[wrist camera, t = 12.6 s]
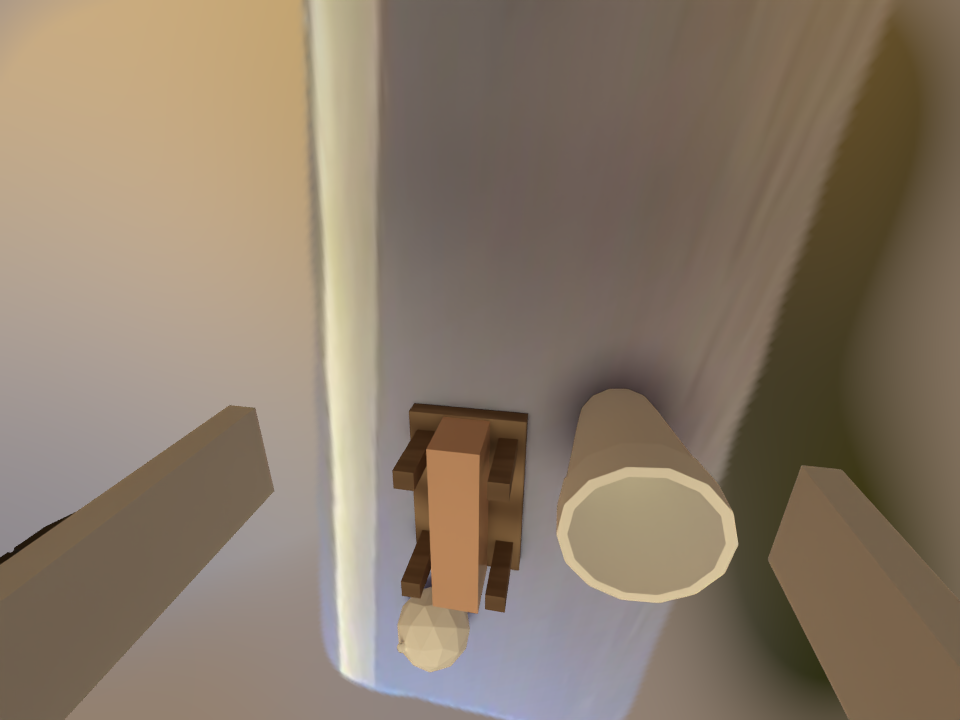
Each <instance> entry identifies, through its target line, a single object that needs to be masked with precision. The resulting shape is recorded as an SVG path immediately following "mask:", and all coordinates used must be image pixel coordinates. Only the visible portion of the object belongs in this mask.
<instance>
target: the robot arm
mask: <svg viewBox="0 0 960 720" xmlns="http://www.w3.org/2000/svg"><path fill="white" fill-rule="evenodd" d="M273 492H274V488H273V483H272V479H271V475H270V470H269V466H268V462H267V457H266V453H265V449H264V444H263V440H262V435H261V431H260V427H259V422H258V418H257V414H256V409H255V408H250V407H241V406H231V405H230V406H228V407H226V408H225V409H223V410H222V411H221V412H219V413H218V414H216V415H215V416H214V417H212V418H211V419H209V420H208V421H206V422H205V423H203V424H202V425H200V426H199V427H198V428H196V429H195V430H193V431H192V432H190V433H189V434H188V435H186V436H185V437H183V438H182V439H181V440H179V441H177V442H176V443H175V444H173V445H172V446H170V447H169V448H167V449H166V450H165V451H163V452H162V453H160V454H159V455H157V456H156V457H155V458H153V459H152V460H150V461H149V462H147V463H146V464H144V465H143V466H142V467H140V468H139V469H137V470H136V471H134V472H133V473H132V474H130V475H129V476H127V477H126V478H124V479H123V480H121V481H120V482H119V483H117V484H116V485H114V486H113V487H111V488H110V489H109V490H107V491H106V492H104V493H103V494H101V495H100V496H98V497H97V498H96V499H94V500H93V501H91V502H90V503H89V504H87V505H85V506H84V507H83V508H81V509H80V510H78V511H77V512H75V513H73V514H70V515H69V516H67V517H64V518H63V519H60V520H58V521H56V522H54V523H52V524H50V525H48V526H46V527H44V528H43V529H41V530H40V531H38V532H37V533H35V534H34V535H33V536H31V537H29V538H28V539H27V540H25V541H24V542H22V543H21V544H19V545H18V546H16V547H15V548H14V551H13V552H11V553H9V552H7V553H6V554H5V555H3V556H2V557H0V720H65V718H66V717H67V716H68V715H69V714H70V713H71V712H72V711H73V710H74V709H75V708H76V706H77V705H78V704H79V703H80V702H81V701H82V700H83V699H84V698H85V697H86V696H87V694H88V693H89V692H90V691H91V690H92V689H93V688H94V687H95V686H96V685H97V683H98V682H99V681H100V680H101V679H102V678H103V677H104V676H105V675H106V674H107V673H108V671H109V670H110V669H111V668H112V667H113V666H114V665H115V664H116V663H117V662H118V661H119V660H120V658H121V657H122V656H123V655H124V654H125V653H126V652H127V650H129V649H130V647H131V646H132V645H133V644H134V643H135V642H136V641H137V640H138V639H139V638H140V637H141V636H142V634H143V633H144V632H145V631H146V630H147V629H148V628H149V627H150V626H151V625H152V624H153V622H154V621H155V620H156V619H157V618H158V617H159V616H160V615H161V614H162V613H163V612H164V610H165V609H166V608H167V607H168V606H169V605H170V604H171V603H172V602H173V601H174V599H176V597H177V596H178V595H179V594H180V593H181V592H182V591H183V590H184V589H185V588H186V586H187V585H188V584H189V583H190V582H191V581H192V580H193V579H194V578H195V577H196V575H198V573H199V572H200V571H201V570H202V569H203V568H204V567H205V566H206V565H207V563H209V561H210V560H211V559H212V558H213V557H214V556H215V555H216V554H217V553H218V551H220V549H221V548H222V547H223V546H224V545H225V544H226V543H227V542H228V541H229V539H231V537H232V536H233V535H234V534H235V533H236V532H237V531H238V530H239V529H240V528H241V527H242V525H243V524H244V523H245V522H246V521H247V520H248V519H249V518H250V517H251V516H252V515H253V513H254V512H255V511H256V510H257V509H258V508H259V507H260V506H261V505H262V504H263V503H264V501H265V500H266V499H267V498H268V497H269V496H270V495H271V494H272V493H273ZM768 561H769V563H770V565H771V567H772V569H773V570H774V572H775V575H776V577H777V579H778V580H779V582H780V585H781V586H782V588H783V590H784V592H785V594H786V596H787V598H788V600H789V602H790V604H791V606H792V608H793V610H794V612H795V614H796V616H797V618H798V620H799V622H800V624H801V626H802V628H803V630H804V632H805V634H806V636H807V638H808V640H809V642H810V644H811V646H812V648H813V650H814V652H815V654H816V656H817V658H818V660H819V662H820V663H821V665H822V667H823V669H824V671H825V673H826V675H827V677H828V679H829V681H830V683H831V685H832V687H833V689H834V691H835V693H836V695H837V697H838V699H839V701H840V703H841V705H842V707H843V709H844V711H845V713H846V715H847V717H848V719H849V720H960V601H959V599H958V598H957V597H956V596H955V595H954V594H953V593H952V592H951V590H950V589H948V587H947V586H946V585H945V584H944V583H943V582H942V581H941V579H940V578H939V577H938V576H937V575H936V574H935V573H934V572H933V571H932V569H931V568H930V567H929V566H928V565H927V564H926V563H925V562H924V561H923V559H922V558H921V557H920V556H919V555H918V554H917V553H916V552H915V551H914V550H913V548H912V547H911V546H910V545H909V544H908V543H907V542H906V541H905V540H904V538H903V537H902V536H901V535H900V534H899V533H898V532H897V531H896V530H895V528H894V527H893V526H892V525H891V524H890V523H889V522H888V521H887V520H886V518H885V517H884V516H883V515H882V514H881V513H880V512H879V511H878V510H877V509H876V507H875V506H874V505H873V504H872V503H871V502H870V501H869V500H868V499H867V498H866V496H865V495H864V494H863V493H862V492H861V491H860V490H859V489H858V488H857V486H855V484H854V483H853V482H852V481H851V480H850V479H849V478H848V477H847V475H846V474H845V473H844V472H843V471H842V470H840V469H830V468H821V467H811V466H801V469H800V471H799V474H798V477H797V480H796V482H795V485H794V488H793V491H792V494H791V496H790V499H789V502H788V505H787V508H786V510H785V513H784V516H783V519H782V522H781V524H780V527H779V530H778V533H777V535H776V538H775V541H774V544H773V547H772V549H771V552H770V555H769V558H768Z"/></svg>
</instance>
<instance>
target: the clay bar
mask: <svg viewBox="0 0 960 720" xmlns="http://www.w3.org/2000/svg"><path fill="white" fill-rule="evenodd" d="M489 454H490V421H482V420H472V419H462V418H451V417H443V418H442V420H441V422H440V424H439V426H438V428H437V430H436V431H435V433H434V435H433V437H432V439H431V441H430V443H429V445H428V447H427V449H426V456H427V480H428V504H429V529H430V553H431V577H432V602H433V606H435V607H441V608H447V609H453V610H459V611H465V612H471V613H477V614H478V610H479V605H480V600H481V595H482V590H483V585H484V580H485V576H486V571H487V550H488V502H489V500H487V481H488V477H489Z"/></svg>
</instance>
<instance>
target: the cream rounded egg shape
mask: <svg viewBox="0 0 960 720" xmlns="http://www.w3.org/2000/svg"><path fill="white" fill-rule="evenodd" d="M469 630H470V627H469V620H468V613H467V612H465V611H459V610H453V609H447V608H441V607H435V606H433V602H432V587H429V588H425V589H424V590H423V593H422V595H421V598H414V597H411V598H410V599H409V600H408V601H407V602H406V603H405V604H404V605H403V607H402V611H401V614H400V618H399V621H398V638H399V644H398V646H397V649H398V651H399V652H400V653H403V654H404V655H405V656H406V657H407V658H408V659H409V661H410V662H411V663H412V664H413V665H414V666H416V667H419V668H421V669H423V670H426V671H428V672H433V671H436V670H440V669H443V668H447V667H450V666H451V665H452V664H453V663H454V662H455V661H456V660H457V658H458V657H459V656H460V655H461V654H462V653H463V651H464V650H465V649H466V645H467V640H468V635H469Z"/></svg>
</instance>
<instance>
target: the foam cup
mask: <svg viewBox="0 0 960 720" xmlns="http://www.w3.org/2000/svg"><path fill="white" fill-rule="evenodd" d="M556 534H557V537H558V540H559V544H560V547H561V550H562V553H563V556H564V559H565V562H566V563H567V564H568V565H569V566H570V567H571V568H572V569H573V570H574V571H575V572H576V573H577V574H578V575H579V576H580V577H581V578H582V579H583V580H584V581H585V582H586V583H587V584H588V585H589V586H591V587H593V588H596V589H598V590H600V591H603V592H605V593H607V594H610V595H612V596H614V597H616V598H619V599H621V600H631V601H643V602H654V603H661V602H665V601H669V600H673V599H677V598H682V597H686V596H689V595H694V594H696V593H698V592H699V591H701V590H702V589H703V588H705V587H706V586H708V585H709V584H710V583H712V582H713V581H715V580H716V579H717V578H719V577H720V576H722V575H723V574H724V573H725V571H726V569H727V567H728V565H729V563H730V561H731V559H732V557H733V555H734V552H735V550H736V548H737V546H738V539H737V533H736V527H735V521H734V515H733V511H732V509H731V508H730V505H729V504H728V502H727V500H726V498H725V496H724V494H723V492H722V490H721V488H720V486H719V484H718V483H717V482H716V481H715V480H714V479H713V478H712V476H711V475H710V474H709V473H708V472H707V471H706V470H705V468H704V467H703V466H702V465H701V464H700V463H699V462H698V461H697V459H695V458H693V456H692V455H691V454H690V452H689V451H688V450H687V449H686V447H685V446H684V445H683V443H682V442H681V441H680V439H679V438H678V437H677V436H676V434H675V433H674V432H673V430H672V429H671V428H670V426H669V425H668V424H667V423H666V421H665V420H664V419H663V417H662V416H661V415H660V413H659V412H658V411H657V410H656V409H655V407H654V406H653V405H652V404H651V403H650V402H649V401H648V399H647V398H646V397H645V396H644V395H641V394H639V393H637V392H634V391H632V390H629V389H608V390H605V391H603V392H601V393H598V394H596V395H593V396H592V397H591V398H590V399H589V400H588V402H587V403H586V404H585V405H584V406H583V407H582V409H581V413H580V416H579V420H578V424H577V429H576V433H575V438H574V443H573V448H572V453H571V457H570V462H569V467H568V472H567V477H566V478H565V479H564V481H563V485H562V489H561V493H560V497H559V501H558V505H557V531H556Z"/></svg>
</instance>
